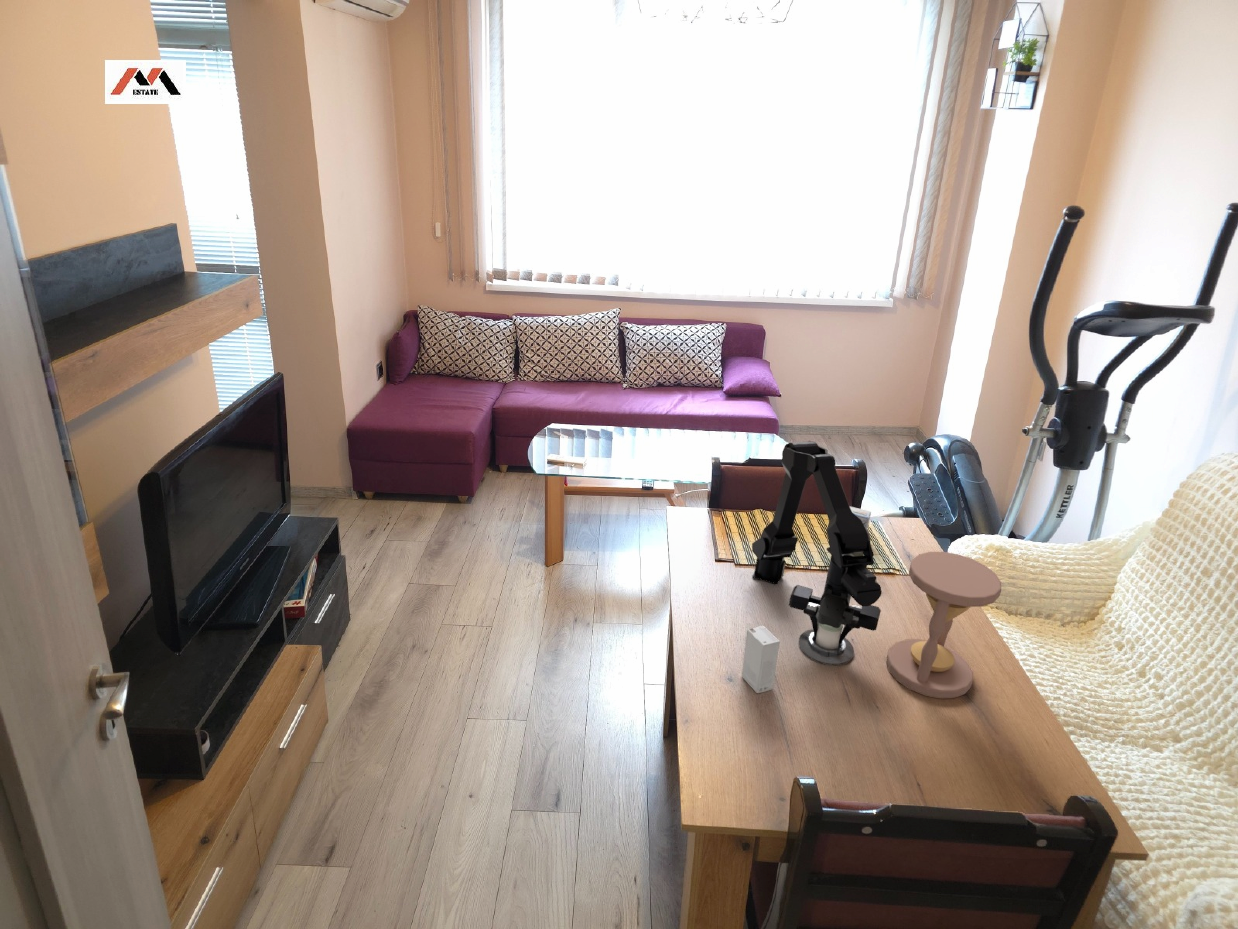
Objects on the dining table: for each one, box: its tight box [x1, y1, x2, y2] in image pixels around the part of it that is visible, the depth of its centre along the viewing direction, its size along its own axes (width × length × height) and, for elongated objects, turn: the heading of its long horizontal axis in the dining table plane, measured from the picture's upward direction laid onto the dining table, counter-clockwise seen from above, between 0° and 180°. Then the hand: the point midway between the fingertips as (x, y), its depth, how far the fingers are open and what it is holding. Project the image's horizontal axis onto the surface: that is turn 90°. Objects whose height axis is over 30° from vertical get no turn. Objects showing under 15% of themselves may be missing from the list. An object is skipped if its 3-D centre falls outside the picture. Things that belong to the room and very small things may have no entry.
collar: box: [798, 629, 855, 666], centre depth 178 cm, size 12×12×2 cm
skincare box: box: [741, 625, 781, 694], centre depth 164 cm, size 6×4×12 cm
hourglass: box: [885, 551, 1002, 700], centre depth 168 cm, size 18×18×25 cm
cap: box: [815, 623, 844, 650], centre depth 177 cm, size 5×5×6 cm
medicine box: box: [850, 506, 872, 530], centre depth 223 cm, size 8×4×9 cm, turn 65°
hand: (827, 638), depth 178 cm, fingers closed on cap, 5 cm apart
